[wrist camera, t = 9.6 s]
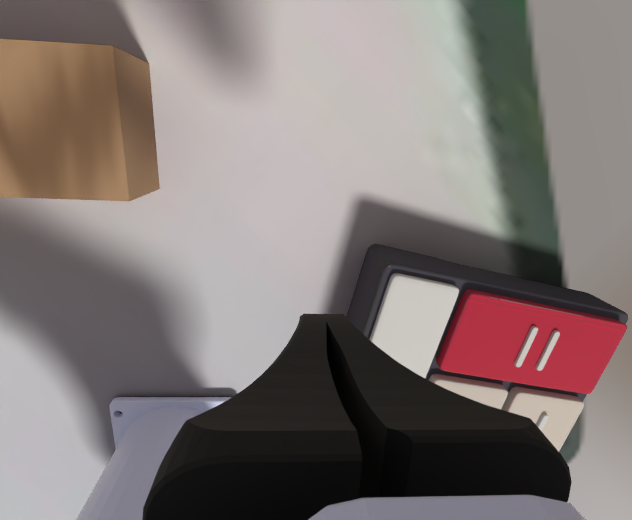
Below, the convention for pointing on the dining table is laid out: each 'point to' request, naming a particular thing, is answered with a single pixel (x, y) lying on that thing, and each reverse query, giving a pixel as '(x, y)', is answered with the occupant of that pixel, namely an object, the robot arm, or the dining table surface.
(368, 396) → the robot arm
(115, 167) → the walnut block
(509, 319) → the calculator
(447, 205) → the dining table surface
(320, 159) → the dining table surface
